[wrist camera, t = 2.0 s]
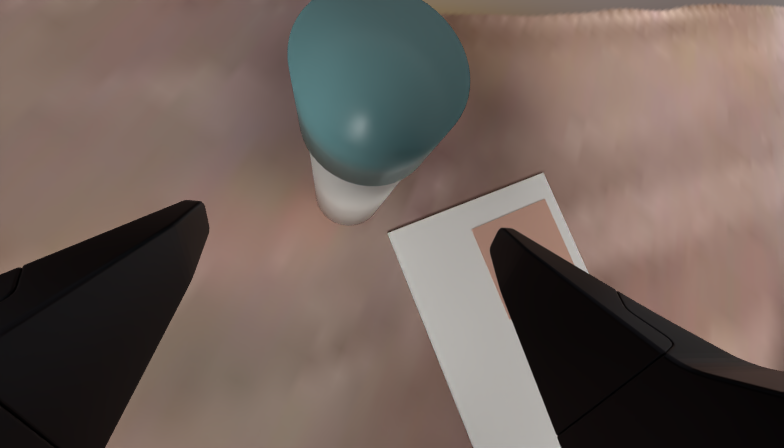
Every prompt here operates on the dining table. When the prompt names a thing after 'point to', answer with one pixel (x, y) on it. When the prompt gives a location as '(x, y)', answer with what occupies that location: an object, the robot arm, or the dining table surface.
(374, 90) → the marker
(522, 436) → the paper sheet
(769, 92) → the dining table surface
